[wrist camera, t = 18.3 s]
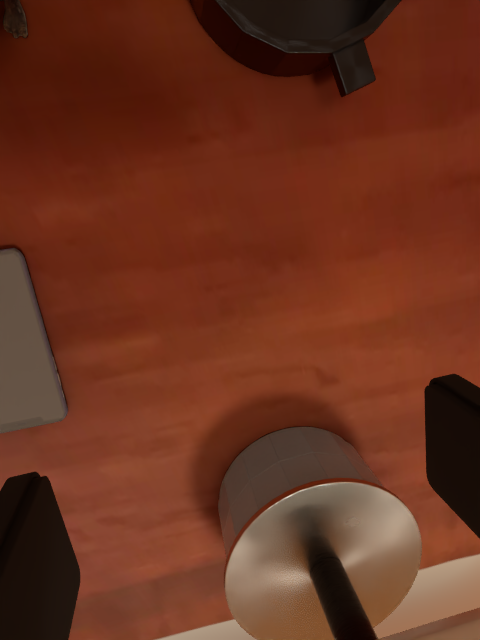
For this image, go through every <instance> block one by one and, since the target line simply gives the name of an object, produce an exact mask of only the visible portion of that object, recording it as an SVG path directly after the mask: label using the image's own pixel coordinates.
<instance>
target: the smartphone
mask: <svg viewBox="0 0 480 640" xmlns="http://www.w3.org/2000/svg"><path fill="white" fill-rule="evenodd" d="M67 412H68V407H67V404H66V400H65V397H64V393H63V390H62V386H61V381H60V378H59V374H58V373H57V367H56V364H55V360H54V357H53V355H52V352H51V348H50V345H49V341H48V338H47V334H46V331H45V327H44V324H43V320H42V317H41V313H40V310H39V306H38V303H37V299H36V296H35V292H34V289H33V285H32V282H31V278H30V275H29V271H28V268H27V264H26V261H25V257H24V256H23V254H22V253H21V252H20V251H19V250H17V249H16V248H9V249H3V250H0V433H5V432H10V431H14V430H19V429H24V428H29V427H34V426H39V425H44V424H49V423H54V422H59V421H62V420H63V419H64V418H65V417H66V415H67Z"/></svg>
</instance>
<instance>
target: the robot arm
mask: <svg viewBox="0 0 480 640" xmlns="http://www.w3.org/2000/svg"><path fill="white" fill-rule="evenodd" d="M425 431H426V473H427V478H428V481H429V484H430V485H431V487H432V488H433V490H434V491H435V492H436V493H437V494H438V495H439V496H440V497H441V498H442V499H443V500H444V501H445V502H446V503H447V504H448V505H449V507H450V508H451V509H452V510H453V511H454V512H455V513H456V514H457V515H458V516H459V517H460V518H461V519H462V520H463V521H464V522H465V523H466V525H467V526H468V527H469V528H470V529H471V530H472V531H473V532H474V533H475V534H476V535H477V536H478V537H479V538H480V388H479V387H477V386H476V385H474V384H472V383H471V382H469V381H467V380H465V379H464V378H462V377H460V376H459V375H456V374H450V375H446V376H442V377H438V378H433V379H432V380H431V381H430V383H429V386H427V387H426V388H425ZM79 586H80V569H79V565H78V562H77V559H76V556H75V553H74V550H73V548H72V545H71V542H70V539H69V536H68V533H67V530H66V527H65V524H64V521H63V518H62V516H61V513H60V510H59V507H58V504H57V501H56V498H55V495H54V492H53V489H52V486H51V483H50V481H49V479H48V477H47V476H43V477H40V475H39V474H38V473H37V472H31V473H27V474H23V475H19V476H14V477H10V478H8V479H7V480H6V482H5V484H4V485H3V487H2V489H1V491H0V640H68V638H69V634H70V629H71V624H72V619H73V615H74V610H75V605H76V600H77V596H78V591H79ZM377 640H480V608H477V609H474V610H471V611H467V612H464V613H461V614H458V615H455V616H451V617H448V618H445V619H442V620H438V621H435V622H432V623H428V624H425V625H422V626H419V627H416V628H412V629H409V630H406V631H403V632H400V633H397V634H394V635H390V636H387V637H384V638H381V639H377Z"/></svg>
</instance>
